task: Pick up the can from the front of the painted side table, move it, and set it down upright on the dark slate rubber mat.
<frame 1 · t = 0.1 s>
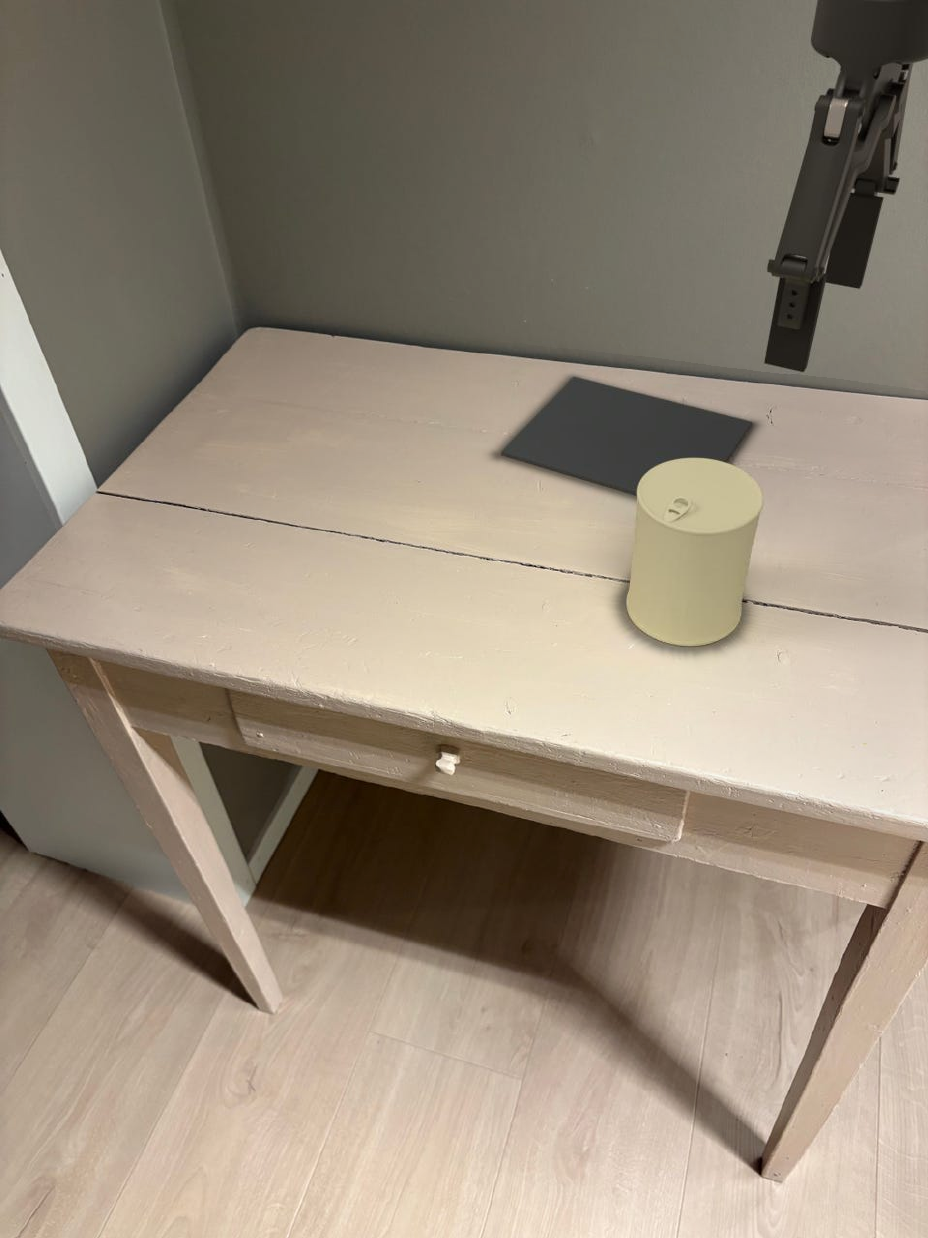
hand: (815, 322, 69), 21 cm above the table, tool pointing down, fingers open, 13 cm apart
can: (682, 608, 78), on the table
mat: (627, 439, 96), on the table
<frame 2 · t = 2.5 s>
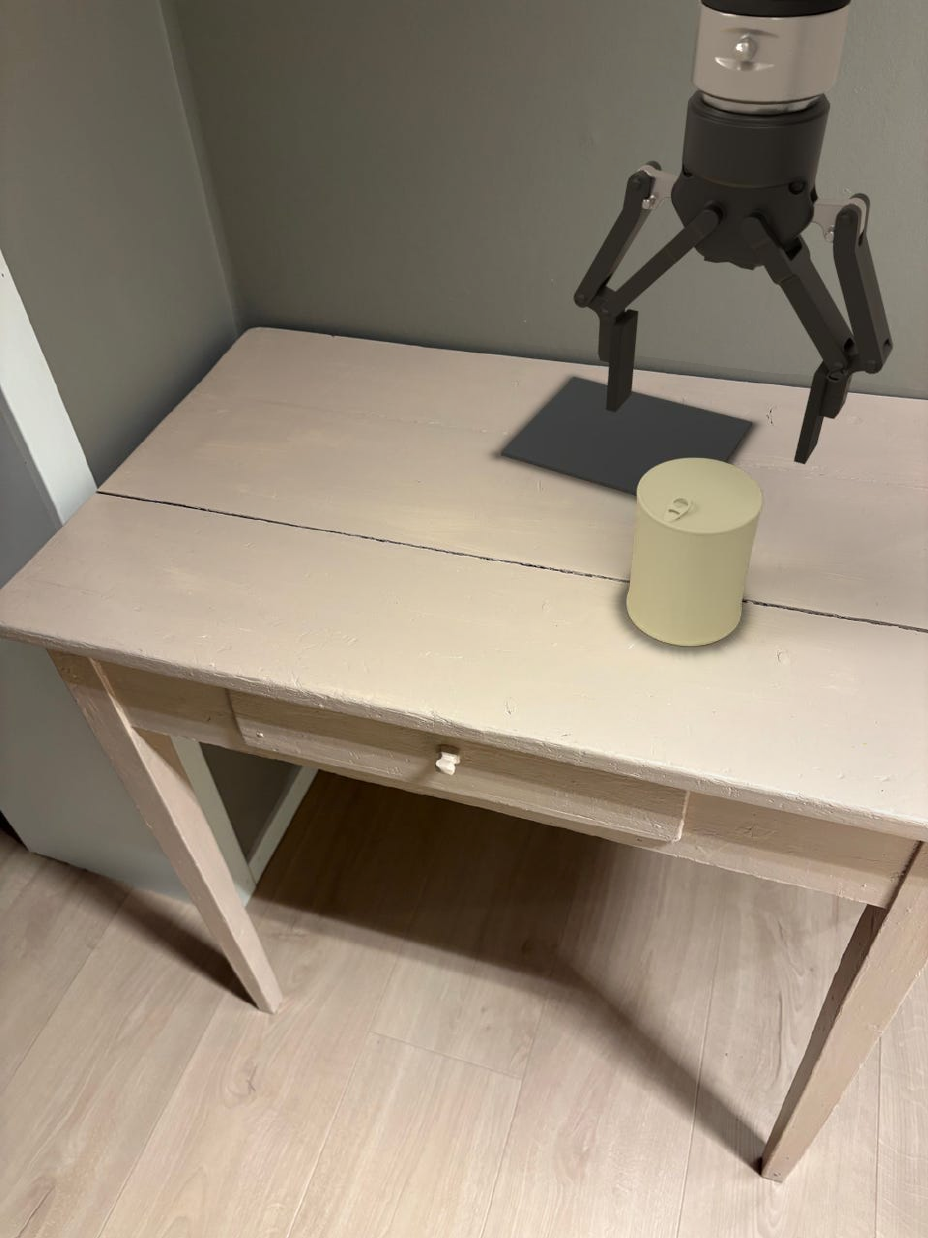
hand: (708, 426, 67), 17 cm above the table, tool pointing down, fingers open, 13 cm apart
nothing on the table moved.
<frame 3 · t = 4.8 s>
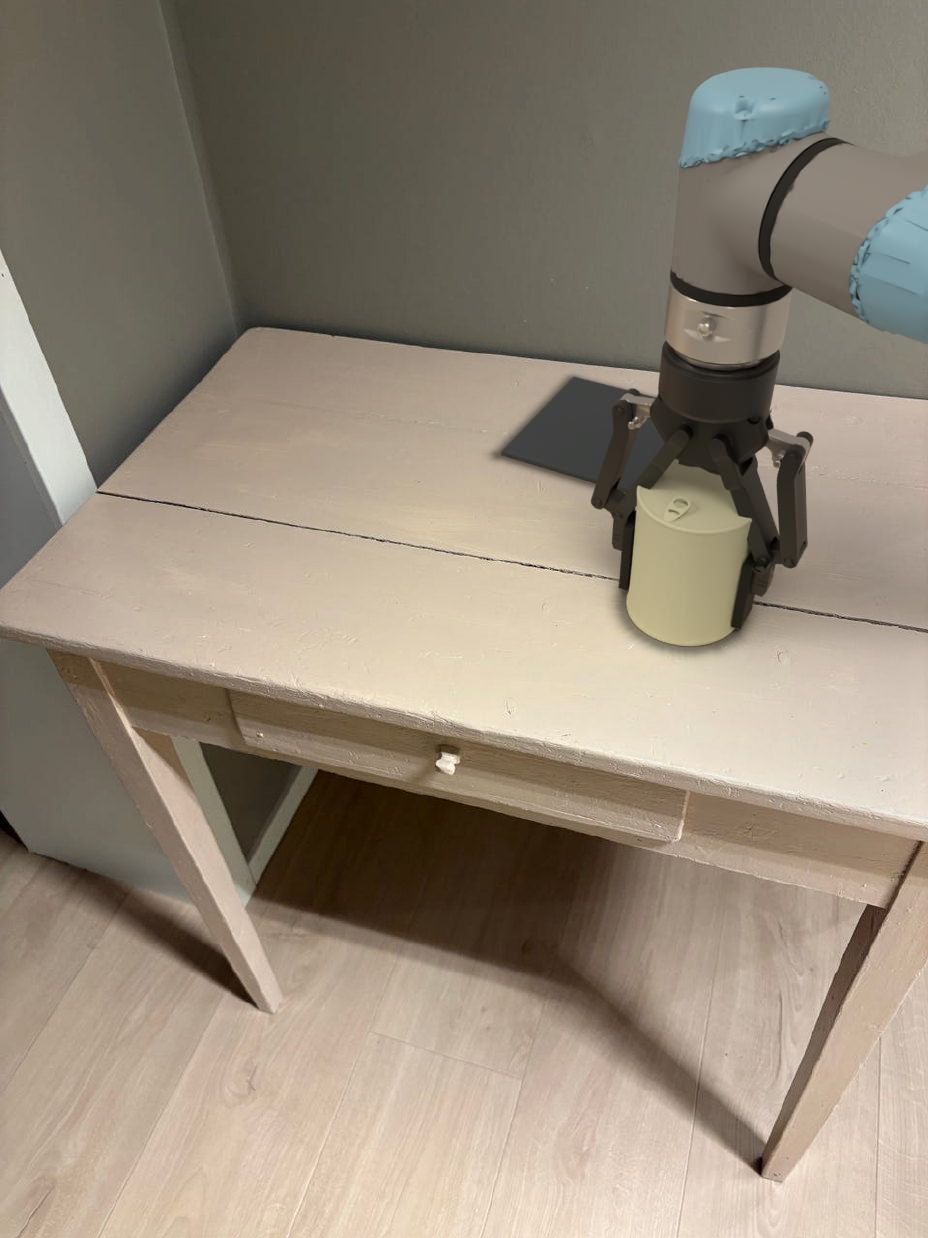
hand: (684, 597, 78), 1 cm above the table, tool pointing down, fingers closed on can, 9 cm apart
can: (682, 608, 78), on the table, touching gripper
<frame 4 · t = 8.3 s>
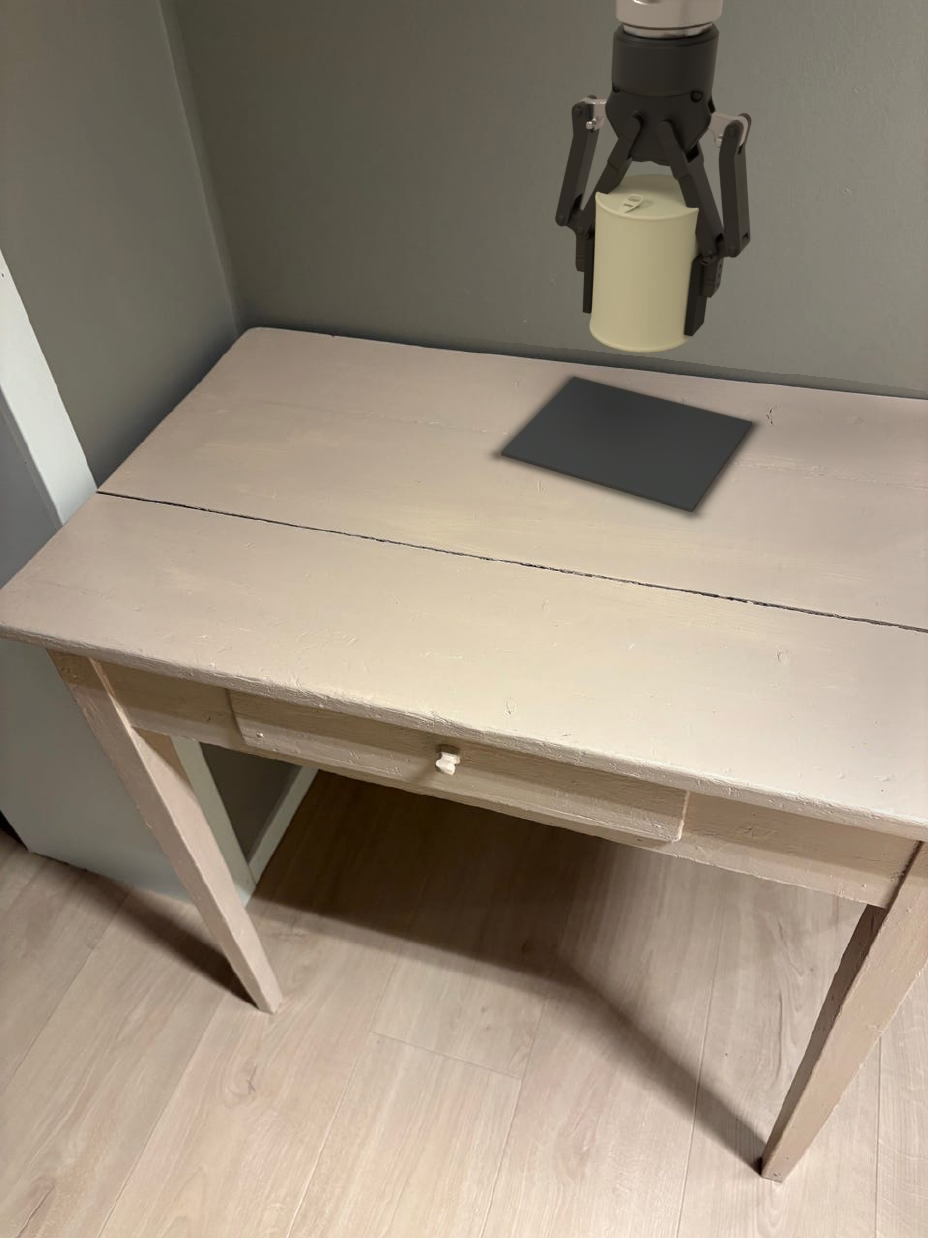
hand: (642, 317, 84), 14 cm above the table, tool pointing down, fingers closed on can, 9 cm apart
can: (641, 329, 85), point 13 cm above the table, touching gripper
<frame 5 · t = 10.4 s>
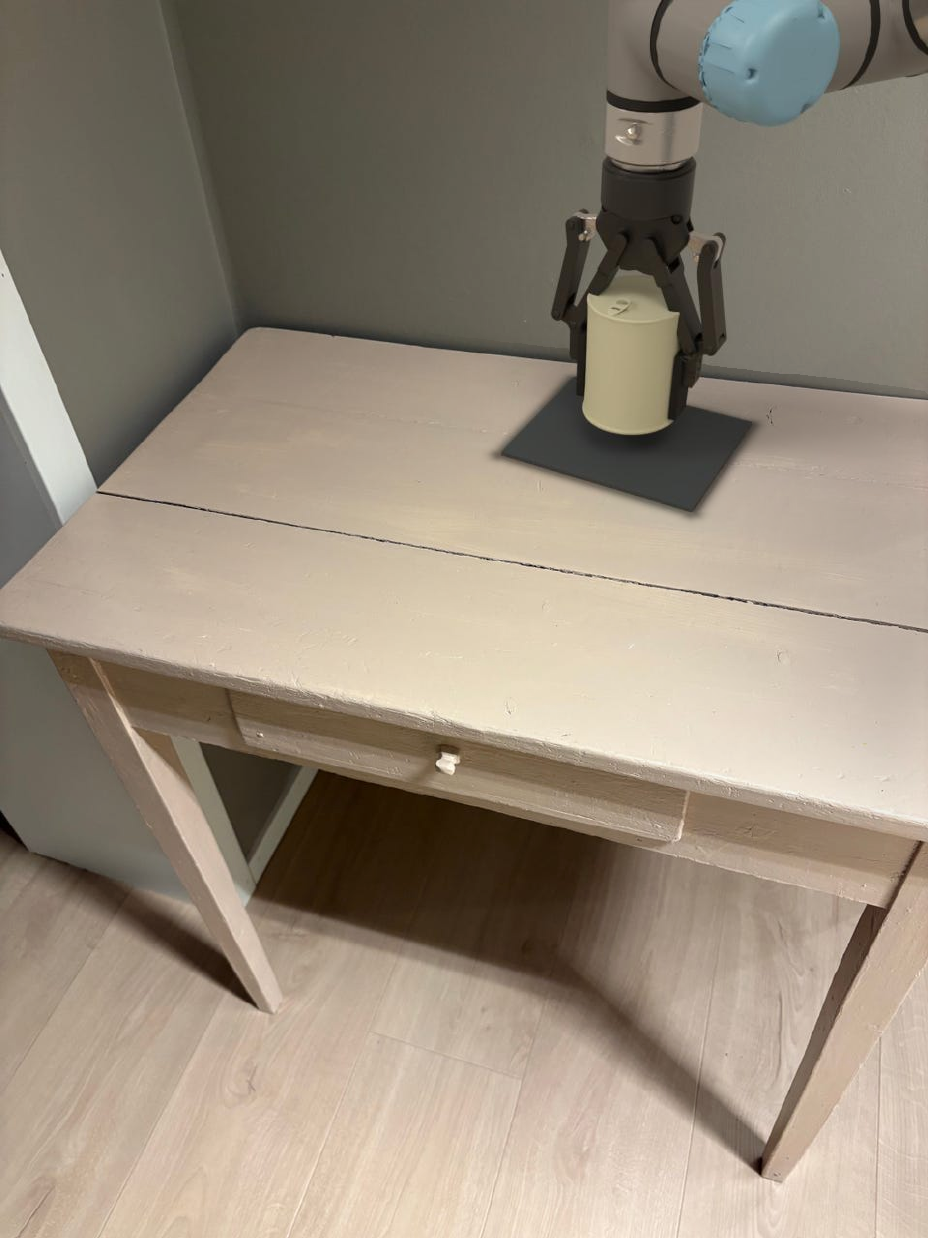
hand: (630, 400, 93), 4 cm above the table, tool pointing down, fingers closed on can, 9 cm apart
can: (629, 410, 94), point 3 cm above the table, touching gripper
when the fingers open (1 cm above the table, at t = 11.8 s): can stays where it is, resting on mat.
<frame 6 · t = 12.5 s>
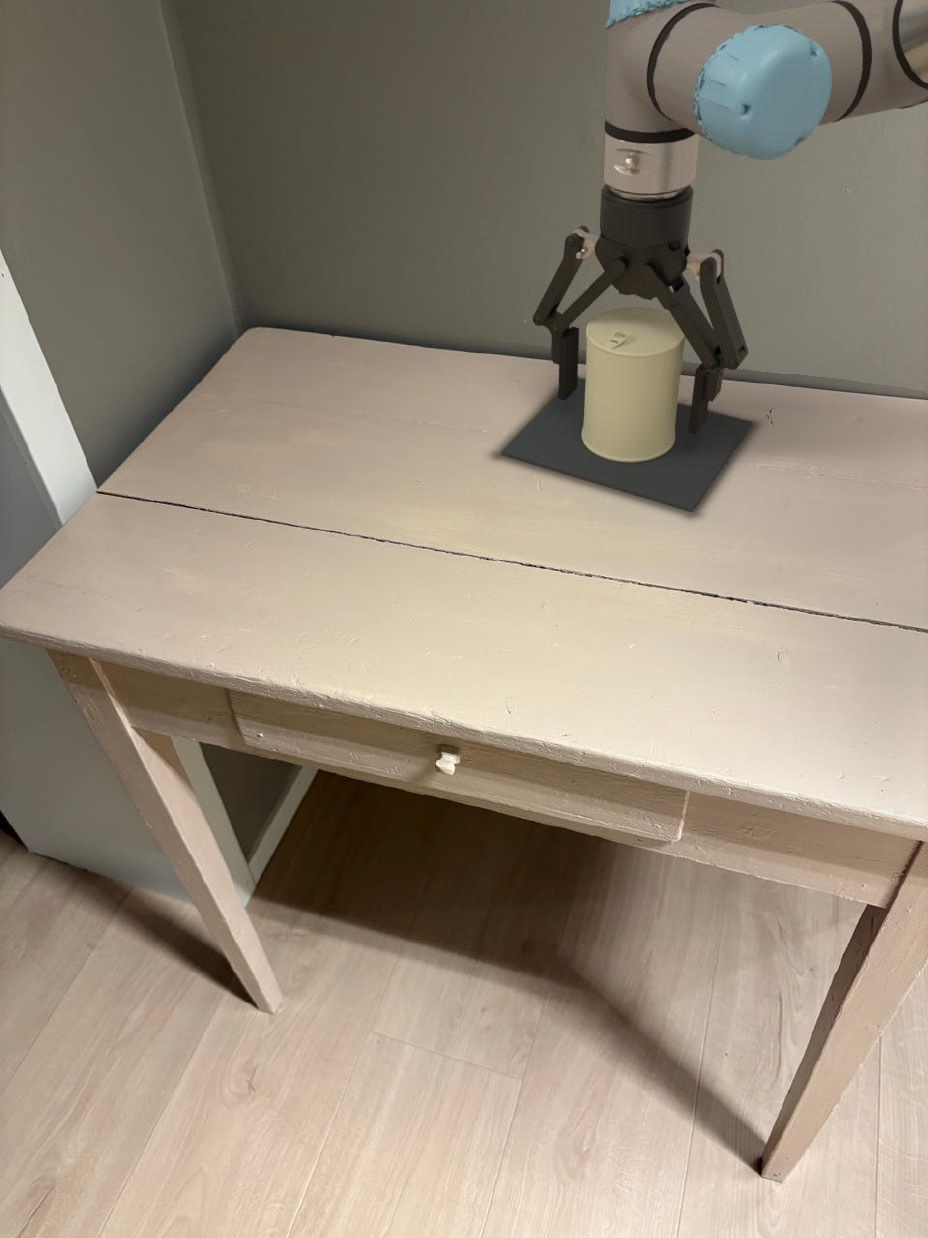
hand: (630, 409, 93), 4 cm above the table, tool pointing down, fingers open, 13 cm apart
can: (627, 438, 96), resting on mat
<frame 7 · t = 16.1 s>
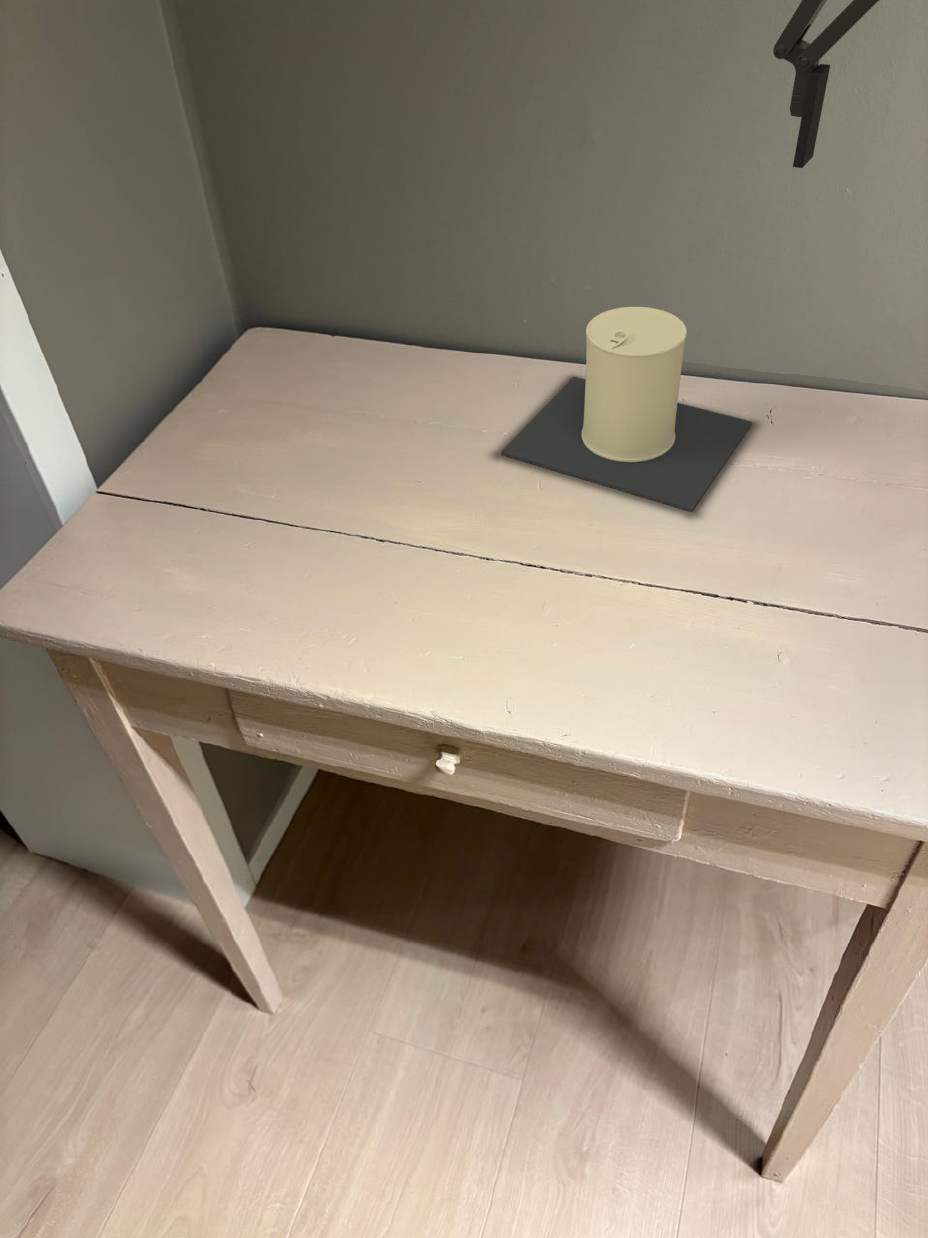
hand: (892, 174, 72), 27 cm above the table, tool pointing down, fingers open, 13 cm apart
nothing on the table moved.
at the end: can inside the target area on the mat (0.0 cm from its centre), point 0.2 cm above the mat's base; can tilted 0°; the gripper is holding nothing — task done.
